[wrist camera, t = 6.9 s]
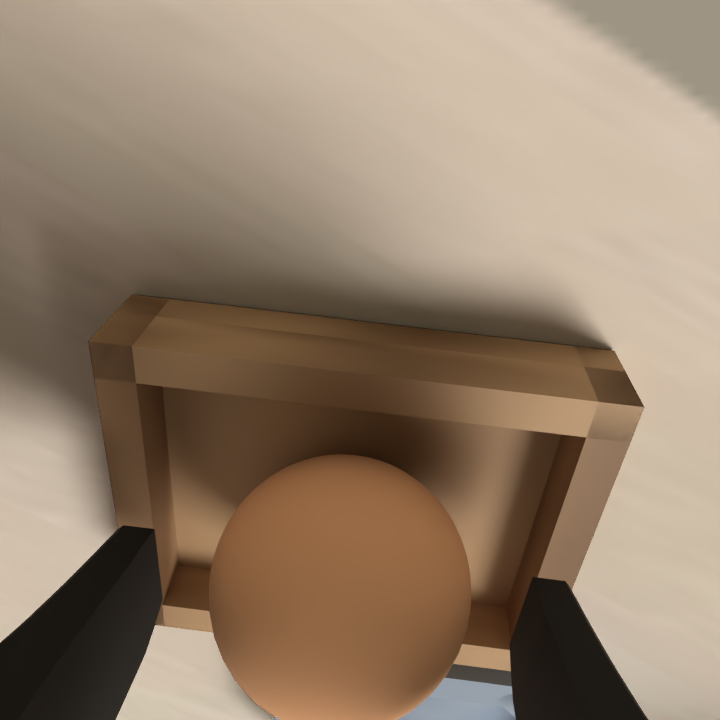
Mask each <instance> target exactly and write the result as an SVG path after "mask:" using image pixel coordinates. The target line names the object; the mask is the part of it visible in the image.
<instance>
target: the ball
mask: <svg viewBox="0 0 720 720" xmlns="http://www.w3.org/2000/svg"><path fill="white" fill-rule="evenodd" d="M470 608H471V577H470V570H469V563H468V559H467V555H466V552H465V548H464V545H463V542H462V539H461V537H460V535H459V533H458V531H457V528H456V526H455V524H454V523H453V521H452V519H451V517H450V516H449V514H448V513H447V511H446V510H445V508H444V507H443V505H442V504H441V503H440V502H439V501H438V500H437V498H436V497H435V496H434V495H433V494H432V493H431V492H430V491H429V490H428V489H427V488H426V487H425V486H424V485H423V484H421V483H420V482H419V481H418V480H416V479H415V478H413V477H412V476H410V475H409V474H407V473H406V472H404V471H403V470H401V469H399V468H397V467H395V466H393V465H391V464H388V463H386V462H383V461H380V460H377V459H373V458H369V457H364V456H358V455H346V454H336V455H324V456H318V457H314V458H310V459H307V460H303V461H300V462H297V463H295V464H292V465H290V466H288V467H285V468H284V469H282V470H280V471H279V472H277V473H275V474H274V475H272V476H270V477H269V478H267V479H266V480H265V481H263V482H262V483H261V484H260V485H258V486H257V487H256V488H255V489H254V490H253V491H252V492H251V493H250V494H249V495H248V496H247V497H246V498H245V499H244V501H243V502H242V503H241V504H240V505H239V507H238V508H237V510H236V511H235V512H234V514H233V515H232V517H231V518H230V520H229V522H228V523H227V525H226V527H225V529H224V531H223V533H222V535H221V538H220V540H219V543H218V545H217V548H216V551H215V555H214V558H213V562H212V567H211V573H210V581H209V613H210V618H211V623H212V628H213V633H214V638H215V640H216V643H217V645H218V648H219V651H220V653H221V656H222V658H223V661H224V662H225V664H226V666H227V667H228V669H229V671H230V672H231V674H232V676H233V677H234V679H235V681H236V682H237V683H238V684H239V686H240V687H241V688H242V689H243V690H244V691H245V692H246V693H247V694H248V696H249V697H250V698H251V699H252V700H253V701H254V702H255V703H257V704H258V705H259V706H260V707H262V708H263V709H264V710H266V711H267V712H269V713H270V714H272V715H274V716H275V717H277V718H278V719H280V720H397V719H399V718H401V717H403V716H404V715H406V714H408V713H409V712H411V711H412V710H414V709H415V708H416V707H417V706H418V705H419V704H421V703H422V702H423V701H424V700H425V699H426V698H427V697H429V696H430V695H431V694H432V693H433V691H434V690H435V689H436V688H437V687H438V685H439V684H440V683H441V682H442V680H443V679H444V678H445V677H446V675H447V674H448V672H449V670H450V668H451V667H452V665H453V663H454V661H455V659H456V657H457V656H458V654H459V651H460V648H461V645H462V643H463V640H464V637H465V634H466V631H467V627H468V621H469V616H470Z"/></svg>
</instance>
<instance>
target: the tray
mask: <svg viewBox="0 0 720 720" xmlns="http://www.w3.org/2000/svg"><path fill="white" fill-rule="evenodd" d="M88 342H89V349H90V355H91V361H92V368H93V374H94V380H95V386H96V393H97V399H98V405H99V412H100V418H101V424H102V431H103V437H104V443H105V449H106V456H107V462H108V468H109V475H110V481H111V487H112V493H113V500H114V506H115V512H116V519H117V525H118V528H120V527H121V526H123V525H127V526H134V527H142V528H150V529H155V536H156V545H157V553H158V562H159V571H160V579H161V588H162V596H163V601H162V604H161V607H160V610H159V613H158V617H157V620H156V623H155V625H160V626H167V627H175V628H183V629H190V630H198V631H206V632H213V628H212V623H211V618H210V613H209V581H210V573H211V567H212V562H213V558H214V555H215V551H216V548H217V545H218V543H219V540H220V538H221V535H222V533H223V531H224V529H225V527H226V525H227V523H228V522H229V520H230V518H231V517H232V515H233V514H234V512H235V511H236V510H237V508H238V507H239V505H240V504H241V503H242V502H243V501H244V499H245V498H246V497H247V496H248V495H249V494H250V493H251V492H252V491H253V490H254V489H255V488H256V487H257V486H258V485H260V484H261V483H262V482H263V481H265V480H266V479H267V478H269V477H270V476H272V475H274V474H275V473H277V472H279V471H280V470H282V469H284V468H285V467H288V466H290V465H292V464H295V463H297V462H300V461H303V460H307V459H310V458H314V457H318V456H324V455H336V454H346V455H358V456H364V457H369V458H373V459H377V460H380V461H383V462H386V463H388V464H391V465H393V466H395V467H397V468H399V469H401V470H403V471H404V472H406V473H407V474H409V475H410V476H412V477H413V478H415V479H416V480H418V481H419V482H420V483H421V484H423V485H424V486H425V487H426V488H427V489H428V490H429V491H430V492H431V493H432V494H433V495H434V496H435V497H436V498H437V500H438V501H439V502H440V503H441V504H442V505H443V507H444V508H445V510H446V511H447V513H448V514H449V516H450V517H451V519H452V521H453V523H454V524H455V526H456V528H457V531H458V533H459V535H460V537H461V539H462V542H463V545H464V548H465V552H466V555H467V559H468V563H469V570H470V577H471V608H470V616H469V621H468V627H467V631H466V634H465V637H464V640H463V643H462V645H461V648H460V651H459V654H458V656H457V657H456V659H455V661H454V663H453V664H459V665H467V666H474V667H482V668H490V669H497V670H505V671H511V664H510V646H509V644H510V641H511V638H512V635H513V633H514V630H515V627H516V624H517V621H518V618H519V615H520V612H521V609H522V606H523V603H524V600H525V598H526V595H527V592H528V589H529V586H530V583H531V580H532V577H538V578H546V579H554V580H562V581H566V582H567V584H568V585H569V586H570V588H571V590H572V588H573V585H574V583H575V580H576V578H577V575H578V573H579V570H580V568H581V565H582V563H583V560H584V558H585V555H586V553H587V550H588V548H589V545H590V543H591V540H592V538H593V535H594V533H595V530H596V527H597V525H598V522H599V520H600V517H601V515H602V512H603V510H604V507H605V505H606V502H607V500H608V497H609V495H610V492H611V490H612V487H613V485H614V482H615V480H616V477H617V475H618V472H619V470H620V467H621V465H622V462H623V460H624V457H625V455H626V452H627V450H628V447H629V445H630V442H631V440H632V437H633V435H634V432H635V430H636V427H637V425H638V422H639V419H640V417H641V414H642V412H643V409H644V406H643V404H642V402H641V400H640V398H639V396H638V394H637V393H636V391H635V389H634V387H633V385H632V383H631V381H630V379H629V378H628V376H627V374H626V372H625V370H624V368H623V366H622V364H621V363H620V361H619V359H618V357H617V355H616V353H615V351H612V350H603V349H595V348H586V347H577V346H569V345H560V344H552V343H543V342H535V341H526V340H517V339H509V338H500V337H492V336H483V335H475V334H466V333H458V332H449V331H440V330H432V329H423V328H415V327H406V326H398V325H389V324H380V323H372V322H363V321H355V320H346V319H338V318H329V317H321V316H312V315H303V314H295V313H286V312H278V311H269V310H261V309H252V308H243V307H235V306H226V305H218V304H209V303H201V302H192V301H184V300H175V299H166V298H158V297H149V296H141V295H131V296H130V297H129V298H128V299H127V300H126V301H125V303H124V304H123V305H122V306H121V307H120V308H119V309H118V310H117V311H116V312H115V313H114V314H113V315H112V316H111V317H110V319H109V320H108V321H107V322H106V323H105V324H104V325H103V326H102V327H101V328H100V329H99V330H98V331H97V332H96V333H95V335H94V336H93V337H92V338H91V339H90V340H89V341H88Z"/></svg>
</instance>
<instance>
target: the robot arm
mask: <svg viewBox="0 0 720 720" xmlns="http://www.w3.org/2000/svg"><path fill="white" fill-rule="evenodd" d="M162 601H163V596H162V588H161V579H160V571H159V562H158V553H157V545H156V536H155V529H150V528H142V527H134V526H127V525H123V526H121V527H120V528H118V529H117V530H116V532H115V533H114V534H113V535H112V536H111V537H110V538H109V539H108V540H107V541H106V542H105V543H104V544H103V545H102V546H101V547H100V548H99V549H98V550H97V551H96V552H95V553H94V554H93V555H92V556H91V557H90V558H89V559H88V560H87V561H86V562H85V563H84V564H83V565H82V566H81V567H80V568H79V569H78V570H77V571H76V572H75V573H74V574H73V575H72V576H71V577H70V578H69V579H68V580H67V581H66V582H65V583H64V584H63V585H62V586H61V587H60V588H59V589H58V590H57V591H56V592H55V593H54V594H53V595H52V596H51V597H50V598H49V599H48V600H47V601H46V602H45V603H43V604H42V605H41V606H40V607H39V608H38V609H37V610H36V611H35V612H34V613H33V614H32V615H31V616H30V617H29V618H28V619H27V620H25V621H24V622H23V623H22V624H21V625H20V626H19V627H18V628H17V629H15V630H14V631H13V632H12V633H11V634H10V635H9V636H7V637H6V638H5V639H4V640H3V641H2V642H1V643H0V720H116V717H117V715H118V713H119V711H120V709H121V706H122V704H123V702H124V700H125V698H126V695H127V693H128V691H129V689H130V687H131V684H132V682H133V680H134V678H135V675H136V673H137V671H138V669H139V666H140V664H141V662H142V660H143V657H144V655H145V653H146V650H147V647H148V644H149V641H150V638H151V635H152V632H153V629H154V626H155V623H156V620H157V617H158V613H159V610H160V607H161V604H162ZM509 646H510V664H511V681H512V695H513V705H514V711H515V717H516V720H648V719H647V717H646V716H645V714H644V713H643V711H642V710H641V708H640V706H639V705H638V703H637V702H636V700H635V698H634V697H633V695H632V694H631V692H630V690H629V689H628V687H627V686H626V684H625V682H624V681H623V679H622V678H621V676H620V674H619V673H618V671H617V670H616V668H615V666H614V665H613V663H612V661H611V659H610V658H609V656H608V654H607V653H606V651H605V649H604V648H603V646H602V644H601V642H600V641H599V639H598V637H597V635H596V634H595V632H594V630H593V628H592V627H591V625H590V623H589V621H588V619H587V618H586V616H585V614H584V612H583V610H582V609H581V607H580V605H579V603H578V601H577V599H576V597H575V596H574V594H573V592H572V590H571V588H570V586H569V585H568V584H567V582H566V581H562V580H554V579H546V578H538V577H532V580H531V583H530V586H529V589H528V592H527V595H526V598H525V600H524V603H523V606H522V609H521V612H520V615H519V618H518V621H517V624H516V627H515V630H514V633H513V635H512V638H511V641H510V644H509Z"/></svg>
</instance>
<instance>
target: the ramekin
mask: <svg viewBox="0 0 720 720" xmlns="http://www.w3.org/2000/svg"><path fill="white" fill-rule="evenodd" d="M275 720H280V719H278V718H277V717H275ZM397 720H516V717H515V711H514V705H513V695H512V681H511V671H505V670H497V669H490V668H482V667H474V666H467V665H459V664H453V665H452V667H451V668H450V670H449V672H448V674H447V675H446V677H445V678H444V679H443V680H442V682H441V683H440V684H439V685H438V687H437V688H436V689H435V690H434V691H433V693H432V694H431V695H430V696H429V697H427V698H426V699H425V700H424V701H423V702H422V703H421V704H419V705H418V706H417V707H416V708H415V709H414V710H412V711H411V712H409V713H408V714H406V715H404V716H403V717H401V718H399V719H397Z"/></svg>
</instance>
